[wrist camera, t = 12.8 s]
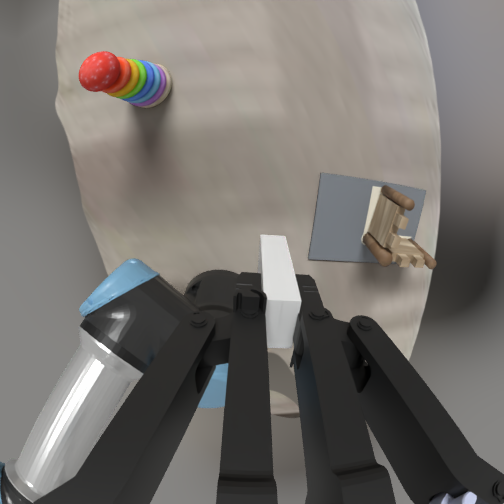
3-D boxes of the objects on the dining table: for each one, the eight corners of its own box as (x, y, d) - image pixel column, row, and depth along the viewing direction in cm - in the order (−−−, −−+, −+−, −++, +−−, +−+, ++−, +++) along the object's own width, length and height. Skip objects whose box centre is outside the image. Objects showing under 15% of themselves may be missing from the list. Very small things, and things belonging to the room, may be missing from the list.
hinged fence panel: (367, 230, 47) (387, 252, 39) (382, 183, 43) (407, 198, 35) (375, 232, 47) (396, 254, 39) (390, 186, 43) (416, 201, 35)
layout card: (405, 263, 51) (406, 264, 50) (308, 258, 50) (308, 259, 50) (425, 190, 43) (426, 190, 43) (320, 172, 43) (321, 173, 43)
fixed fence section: (409, 247, 49) (433, 270, 40) (360, 242, 49) (380, 268, 40) (412, 236, 48) (438, 258, 39) (362, 231, 48) (384, 255, 39)
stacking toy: (173, 61, 34) (124, 28, 18) (173, 105, 38) (121, 95, 21) (130, 69, 34) (66, 49, 18) (129, 111, 38) (63, 111, 21)
